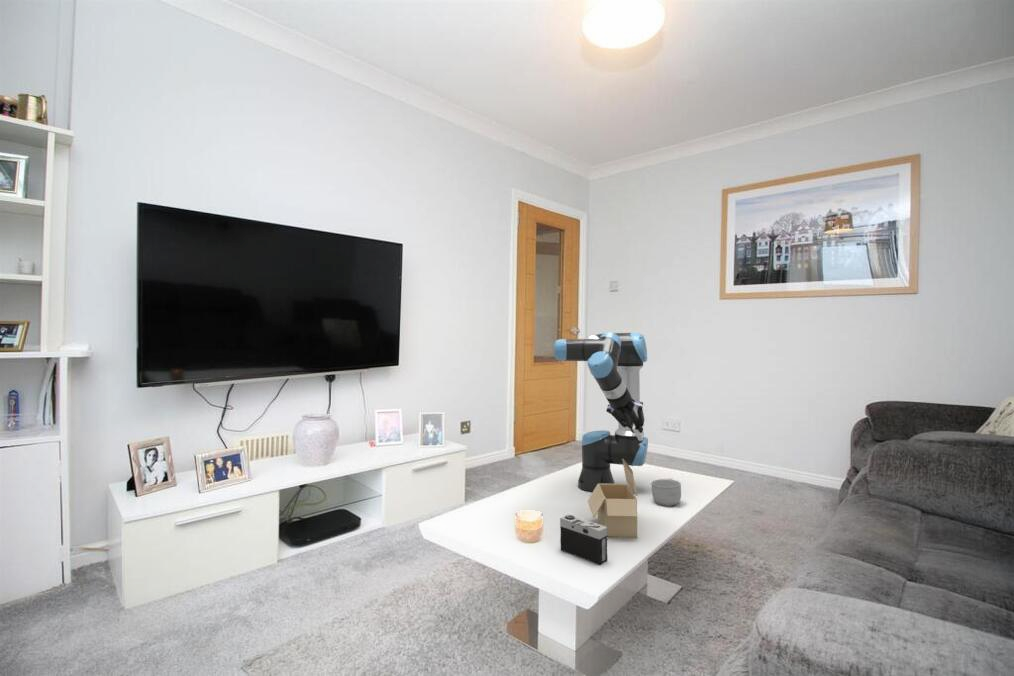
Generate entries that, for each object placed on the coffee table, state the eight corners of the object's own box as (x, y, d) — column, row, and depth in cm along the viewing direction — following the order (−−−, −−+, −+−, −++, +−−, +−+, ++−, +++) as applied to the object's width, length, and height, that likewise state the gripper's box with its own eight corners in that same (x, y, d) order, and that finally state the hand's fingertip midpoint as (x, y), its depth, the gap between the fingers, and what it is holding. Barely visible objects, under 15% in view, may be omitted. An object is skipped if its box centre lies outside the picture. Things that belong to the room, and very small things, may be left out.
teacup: (673, 510, 176) (673, 488, 176) (646, 503, 184) (646, 482, 184) (689, 500, 187) (689, 479, 187) (662, 494, 194) (662, 474, 194)
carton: (594, 540, 150) (594, 501, 150) (586, 515, 171) (586, 481, 171) (639, 541, 149) (638, 502, 149) (625, 516, 170) (625, 481, 171)
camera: (615, 556, 139) (615, 521, 139) (599, 566, 133) (599, 529, 133) (576, 542, 149) (576, 509, 149) (559, 550, 143) (559, 516, 143)
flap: (636, 496, 152) (631, 471, 152) (626, 481, 168) (622, 458, 168) (637, 496, 152) (632, 470, 152) (627, 481, 168) (623, 458, 168)
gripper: (595, 402, 160) (622, 446, 171) (632, 398, 153) (658, 445, 164) (600, 385, 165) (626, 429, 176) (636, 381, 158) (661, 428, 169)
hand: (641, 437), depth 170 cm, fingers closed
